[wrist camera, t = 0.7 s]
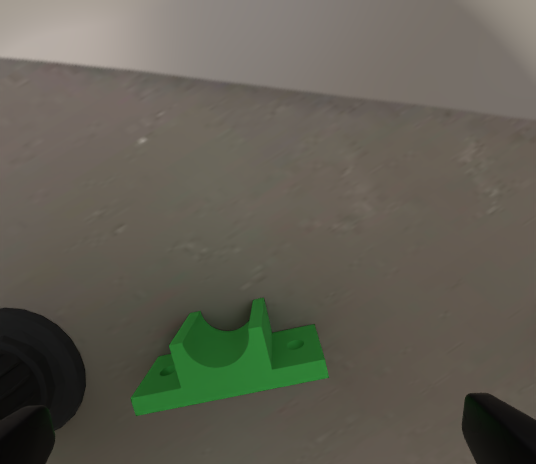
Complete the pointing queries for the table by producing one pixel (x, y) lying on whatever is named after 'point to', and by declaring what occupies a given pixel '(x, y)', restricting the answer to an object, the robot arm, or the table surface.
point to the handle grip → (38, 367)
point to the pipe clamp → (229, 362)
